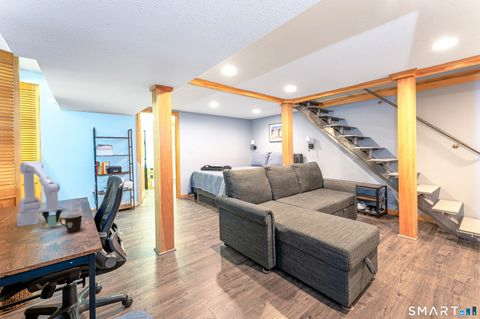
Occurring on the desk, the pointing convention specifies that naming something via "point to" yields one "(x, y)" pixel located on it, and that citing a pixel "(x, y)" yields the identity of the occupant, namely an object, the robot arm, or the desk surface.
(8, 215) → the desk surface
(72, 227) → the coffee mug
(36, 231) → the pad
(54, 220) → the block
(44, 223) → the tan shallow tray
